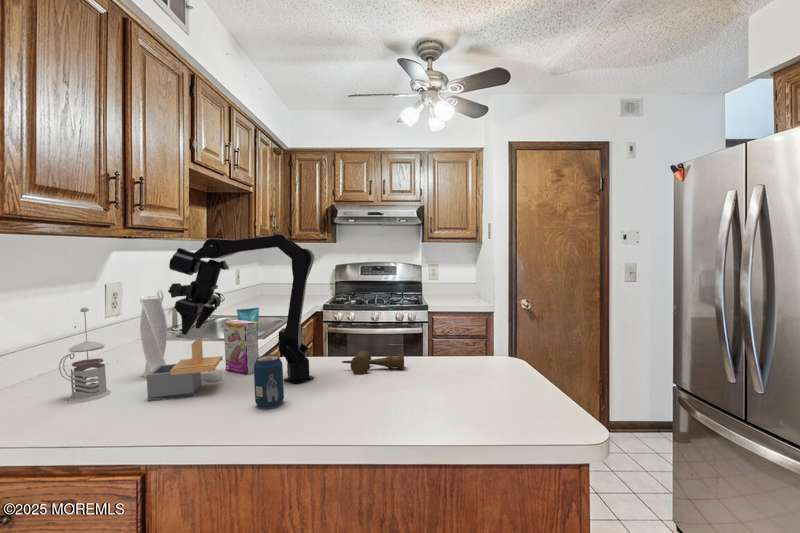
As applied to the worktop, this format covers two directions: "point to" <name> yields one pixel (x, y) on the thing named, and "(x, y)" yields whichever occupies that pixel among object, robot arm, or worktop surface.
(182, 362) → the lid
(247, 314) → the tube
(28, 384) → the worktop surface
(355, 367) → the kendama
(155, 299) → the skyscraper
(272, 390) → the soda can
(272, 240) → the robot arm
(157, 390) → the housing
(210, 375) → the ball with square handle
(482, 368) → the worktop surface
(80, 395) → the french press
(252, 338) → the candy bar box
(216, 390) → the worktop surface
